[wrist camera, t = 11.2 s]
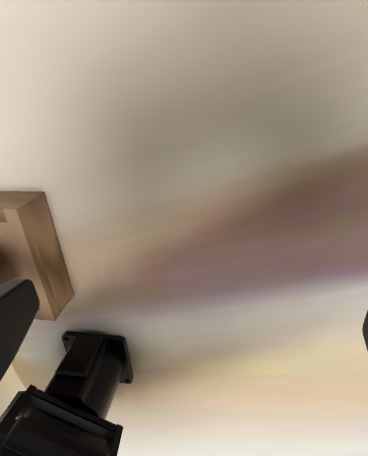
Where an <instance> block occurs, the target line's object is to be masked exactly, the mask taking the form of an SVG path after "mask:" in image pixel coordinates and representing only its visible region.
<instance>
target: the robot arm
mask: <svg viewBox="0 0 368 456" xmlns="http://www.w3.org/2000/svg"><path fill="white" fill-rule="evenodd" d="M39 306H40V300H39V297H38V294H37V292H36V289H35V286H34V283H33V282H32V281H31V280H30V279H25V278H16V279H13V280H11V281H9V282H6V283H4V284H2V285H0V381H1V379H2V378H3V376H4V374H5V373H6V371H7V369H8V368H9V366H10V364H11V363H12V361H13V359H14V358H15V356H16V354H17V352H18V350H19V348H20V346H21V344H22V342H23V340H24V338H25V336H26V334H27V332H28V330H29V328H30V326H31V324H32V322H33V320H34V318H35V316H36V314H37V312H38V309H39ZM363 336H364V340H365V343H366V347H367V351H368V311H367V314H366V317H365V320H364V323H363ZM62 340H63V343H64V346H65V349H66V354H65V356H64V357H63V359H62V361H61V362H60V364H59V366H58V367H57V369H56V371H55V374H54V376H53V378H52V379H51V381H50V383H49V384H48V386H47V388H46V389H45V391H41V390H39V389H37V388H36V386H34V385H30V386H29V387H28V389H27V390H26V391H21V392H20V391H19V392H18V393H17V394H16V396H15V397H14V399H13V400H12V402H11V403H10V405H9V406H8V408H7V409H6V410H5V412H4V413H3V414H2V415H1V417H0V456H117V453H118V448H119V444H120V439H121V435H122V430H123V426H121V425H118V424H117V425H115V424H113V423H111V422H109V421H107V420H105V419H106V416H107V414H108V411H109V408H110V406H111V403H112V400H113V398H114V395H115V392H116V390H117V387H118V384H119V383H126V384H130V383H132V380H133V375H132V370H131V365H130V360H129V356H128V351H127V346H126V341H125V339H124V338H122V337H115V336H104V335H93V334H83V333H72V332H65V333H64V334H63V336H62Z"/></svg>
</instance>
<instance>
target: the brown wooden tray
mask: <svg viewBox="0 0 368 456" xmlns="http://www.w3.org/2000/svg"><path fill="white" fill-rule="evenodd" d="M16 278H25V279H30V280H31V281H32V282H33V283H34V286H35V289H36V292H37V294H38V297H39V300H40V306H39V309H38V312H37V314H36V316H35V318H34V319H41V320H52V321H55V320H56V318H57V317H58V316H59V314H60V313H61V312H62V310H63V309H64V307H65V306H66V305H67V303H68V302H69V301H70V299H71V298H72V296H73V295H74V294H73V291H72V287H71V284H70V280H69V277H68V273H67V270H66V266H65V263H64V260H63V256H62V253H61V249H60V246H59V242H58V239H57V236H56V232H55V229H54V225H53V222H52V218H51V215H50V211H49V208H48V205H47V201H46V198H45V194H44V192H0V285H2V284H4V283H6V282H9V281H11V280H13V279H16Z"/></svg>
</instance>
